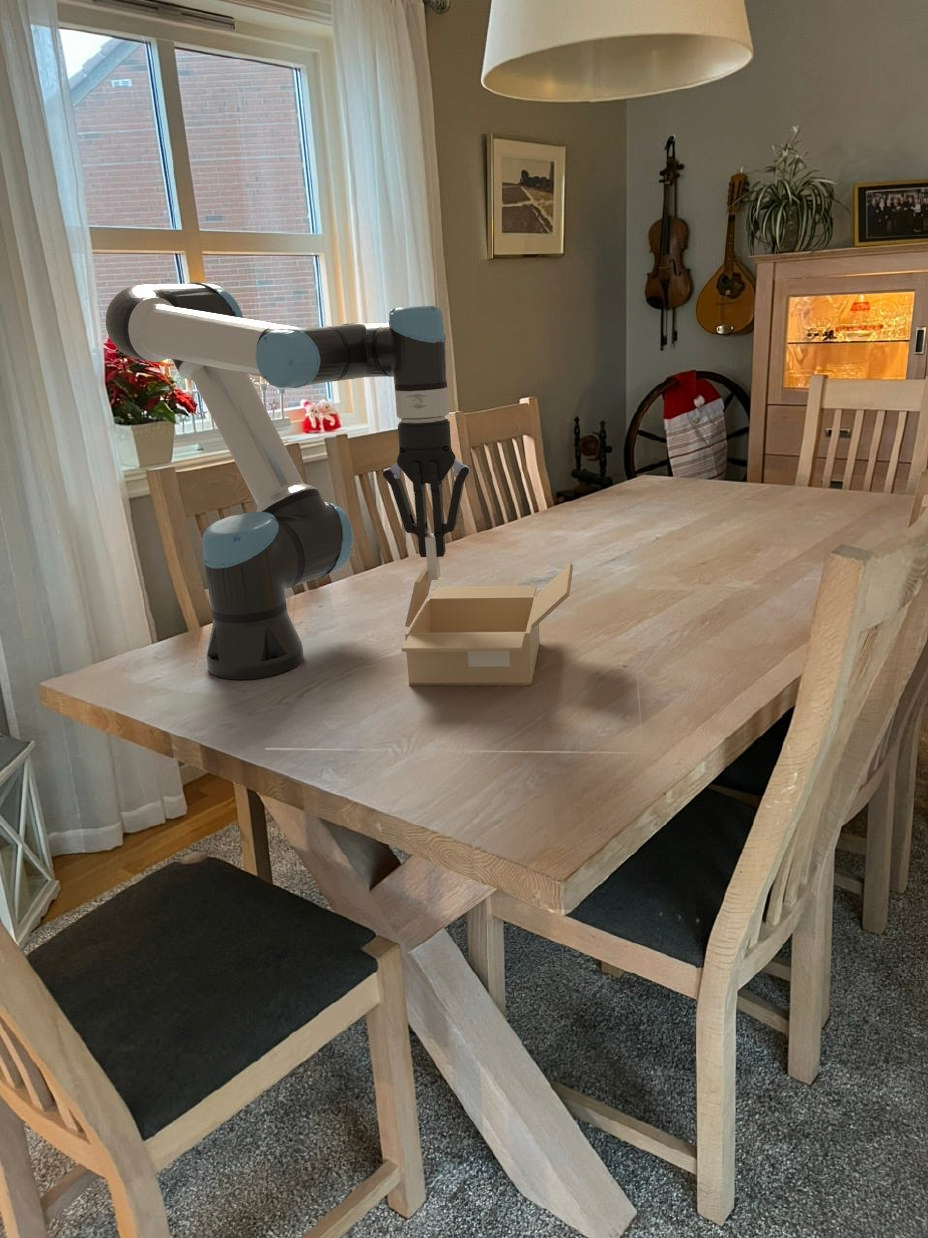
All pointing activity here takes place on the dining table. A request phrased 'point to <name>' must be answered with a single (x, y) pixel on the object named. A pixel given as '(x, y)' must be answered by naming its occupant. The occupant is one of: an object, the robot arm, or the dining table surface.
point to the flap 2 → (552, 595)
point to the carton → (474, 637)
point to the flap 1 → (418, 595)
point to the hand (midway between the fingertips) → (434, 577)
